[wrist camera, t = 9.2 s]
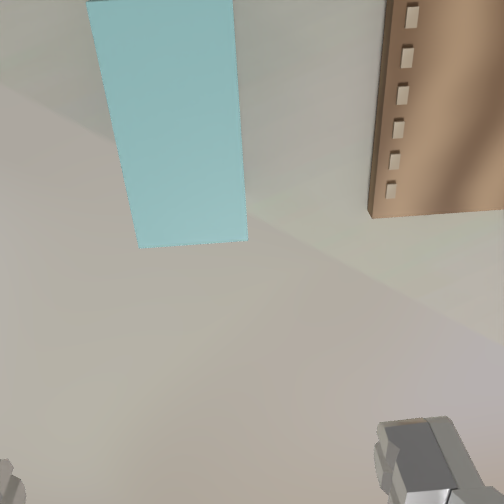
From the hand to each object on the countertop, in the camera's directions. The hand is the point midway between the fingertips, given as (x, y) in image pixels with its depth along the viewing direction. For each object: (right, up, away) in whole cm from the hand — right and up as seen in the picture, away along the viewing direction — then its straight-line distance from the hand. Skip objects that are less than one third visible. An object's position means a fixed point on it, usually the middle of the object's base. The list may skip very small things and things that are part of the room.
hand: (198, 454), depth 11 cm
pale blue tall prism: (-3, +13, +17) cm, 22 cm away
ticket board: (+15, +15, +17) cm, 27 cm away
